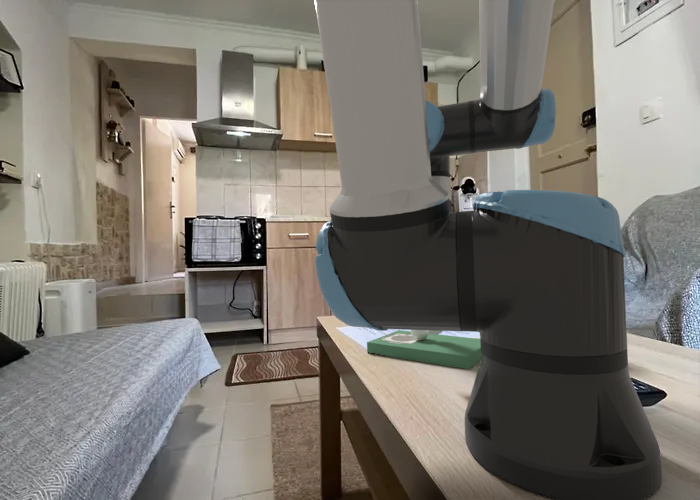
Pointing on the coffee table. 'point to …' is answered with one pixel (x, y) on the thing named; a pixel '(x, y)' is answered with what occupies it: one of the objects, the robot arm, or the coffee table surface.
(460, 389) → the coffee table surface
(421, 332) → the ball
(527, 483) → the robot arm
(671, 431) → the coffee table surface
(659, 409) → the coffee table surface
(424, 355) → the putting strip
